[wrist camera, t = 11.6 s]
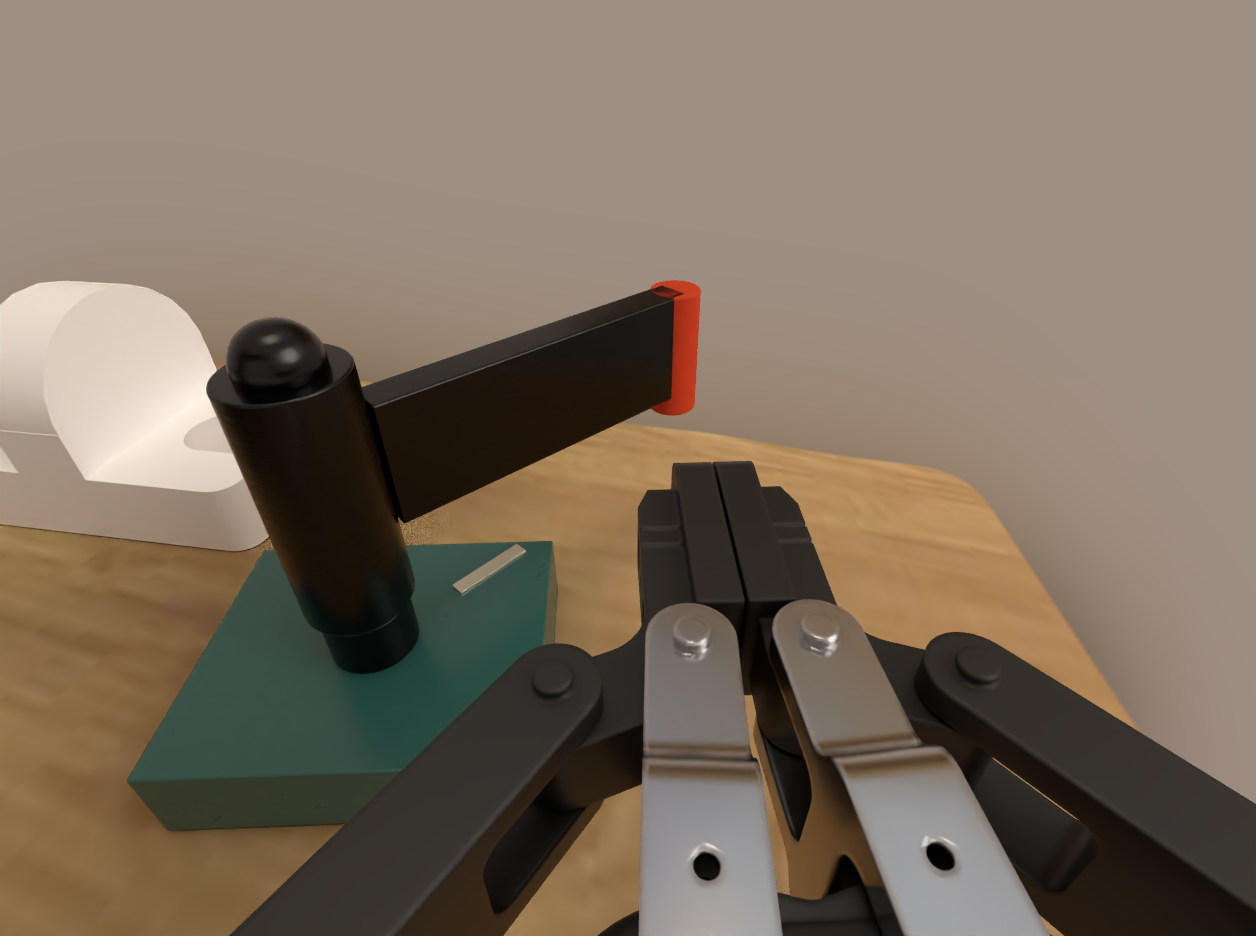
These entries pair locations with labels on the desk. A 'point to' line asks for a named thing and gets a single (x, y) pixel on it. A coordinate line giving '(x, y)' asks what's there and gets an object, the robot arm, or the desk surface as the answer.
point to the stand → (339, 690)
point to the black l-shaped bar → (427, 433)
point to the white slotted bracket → (115, 421)
